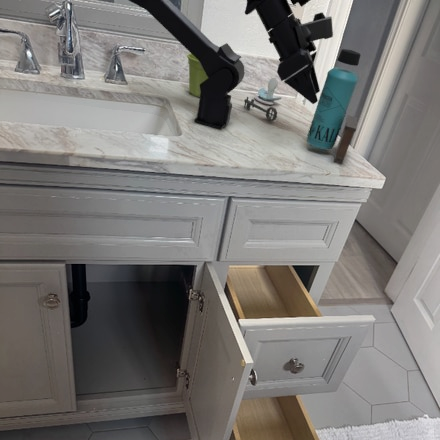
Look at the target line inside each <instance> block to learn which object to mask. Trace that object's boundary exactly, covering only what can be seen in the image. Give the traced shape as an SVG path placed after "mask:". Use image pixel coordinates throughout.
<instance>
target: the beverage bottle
mask: <svg viewBox="0 0 440 440" xmlns="http://www.w3.org/2000/svg"><path fill="white" fill-rule="evenodd" d="M360 58H361V53H360V52H357V51H355V50H352V49H346V48H342V49H341V50H340V52H339V55H338V57H337V62H340V63H342V64H344V65H350V66H354V67H356V66H359V63H360ZM358 81H359V78H358V76H357V73H356V72H355V71H354V70H351V69H349V68H346V67H341V66H334V67H332V68H331V69H330V70H328V71H327V74H326V77H325V81H324V84H323V87H322V90H321V91H320V93H319V95H320V96H319V98H318V101H317V104H316V107H315V110H314V113H313V117H312V120H311V123H310V124H309V128H308V132H307V135H306V142H307V144H309V145H310V146H311V147H314V148H318V149H321V150H332V149H333V148H334V147H335V145H336V143H337V139H338V137H339V136H340V135H339V134H340V131H341V129H342V126H343V123H344V121H345V120H344V119H345V117H346V115H347V111H348V108H349V105H350V102H351V100H352V97H353V95H354V91H355V89H356V86H357V83H358Z"/></svg>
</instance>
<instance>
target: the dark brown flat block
mask: <svg viewBox="0 0 440 440" xmlns="http://www.w3.org/2000/svg"><path fill="white" fill-rule="evenodd" d="M357 125H358V117H357V116H352V115H349V114H348V115H346V118H345V124H344V127H343V130H342V132H341V135H340V138H339V141H338V144H337V146H336V149H335V153H334V159H333V163H335V164H339V165H342V164H343V162H344V160H345V157H346V154H347V151H348V149H349V147H350V144H351V141H352V138H353V136H354V133H356V131H357Z"/></svg>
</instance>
